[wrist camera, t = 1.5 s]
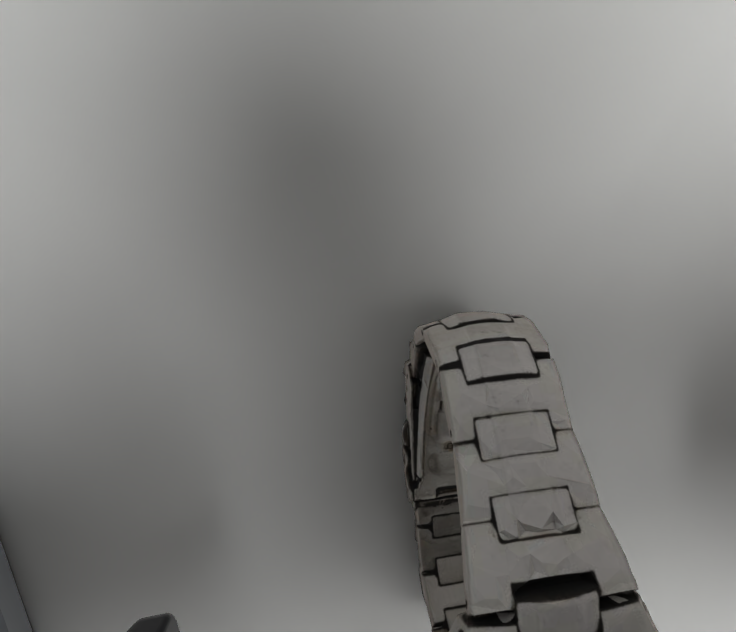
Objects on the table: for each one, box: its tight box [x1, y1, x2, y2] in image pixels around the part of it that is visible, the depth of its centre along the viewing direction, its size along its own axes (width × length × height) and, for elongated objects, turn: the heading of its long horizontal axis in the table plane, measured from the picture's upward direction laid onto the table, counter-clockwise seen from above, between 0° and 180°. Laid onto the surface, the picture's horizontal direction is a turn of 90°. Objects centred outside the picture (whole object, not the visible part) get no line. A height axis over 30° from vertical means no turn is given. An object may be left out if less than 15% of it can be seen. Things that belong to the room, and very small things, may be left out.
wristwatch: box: [402, 311, 658, 632], centre depth 9 cm, size 4×6×5 cm, turn 5°
